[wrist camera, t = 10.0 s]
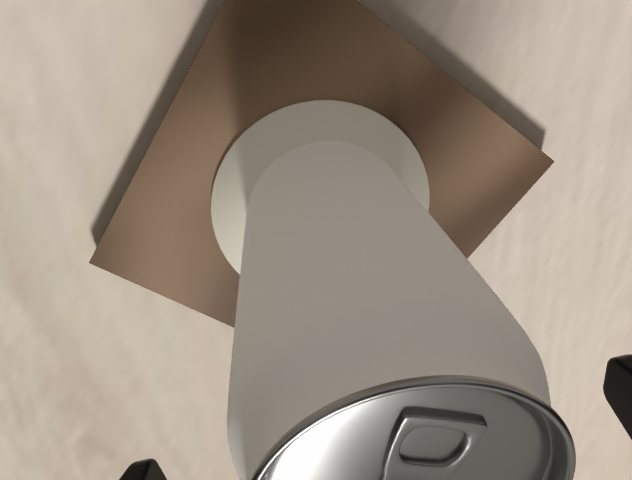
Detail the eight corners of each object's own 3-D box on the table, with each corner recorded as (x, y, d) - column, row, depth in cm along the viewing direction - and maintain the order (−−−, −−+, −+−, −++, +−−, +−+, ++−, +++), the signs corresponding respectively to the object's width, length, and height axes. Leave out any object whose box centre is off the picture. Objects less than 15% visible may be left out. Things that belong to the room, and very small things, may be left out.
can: (233, 267, 19) (188, 603, 8) (265, 118, 16) (264, 323, 5) (373, 292, 20) (497, 608, 9) (426, 159, 17) (684, 388, 7)
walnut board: (541, 154, 19) (557, 162, 18) (352, 368, 23) (357, 384, 22) (264, -69, 14) (264, -76, 13) (97, 251, 19) (87, 265, 18)
